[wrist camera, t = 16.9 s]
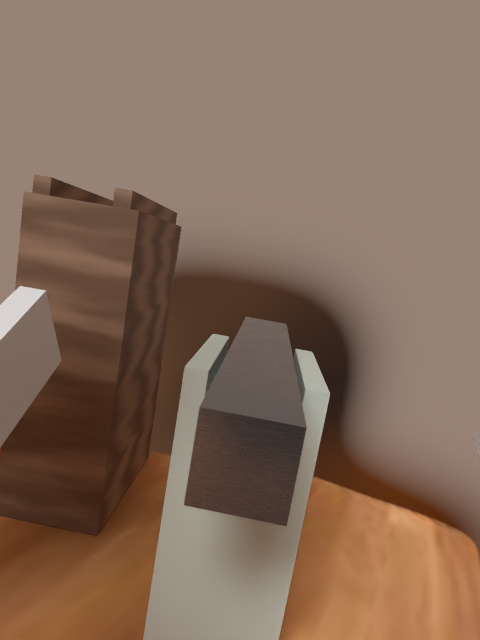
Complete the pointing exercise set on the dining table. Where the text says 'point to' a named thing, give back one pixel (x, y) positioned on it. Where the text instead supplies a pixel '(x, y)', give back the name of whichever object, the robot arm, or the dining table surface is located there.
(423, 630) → the dining table surface
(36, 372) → the robot arm
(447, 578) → the dining table surface
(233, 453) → the bar
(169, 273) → the walnut stand
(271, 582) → the slotted cradle
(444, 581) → the dining table surface
